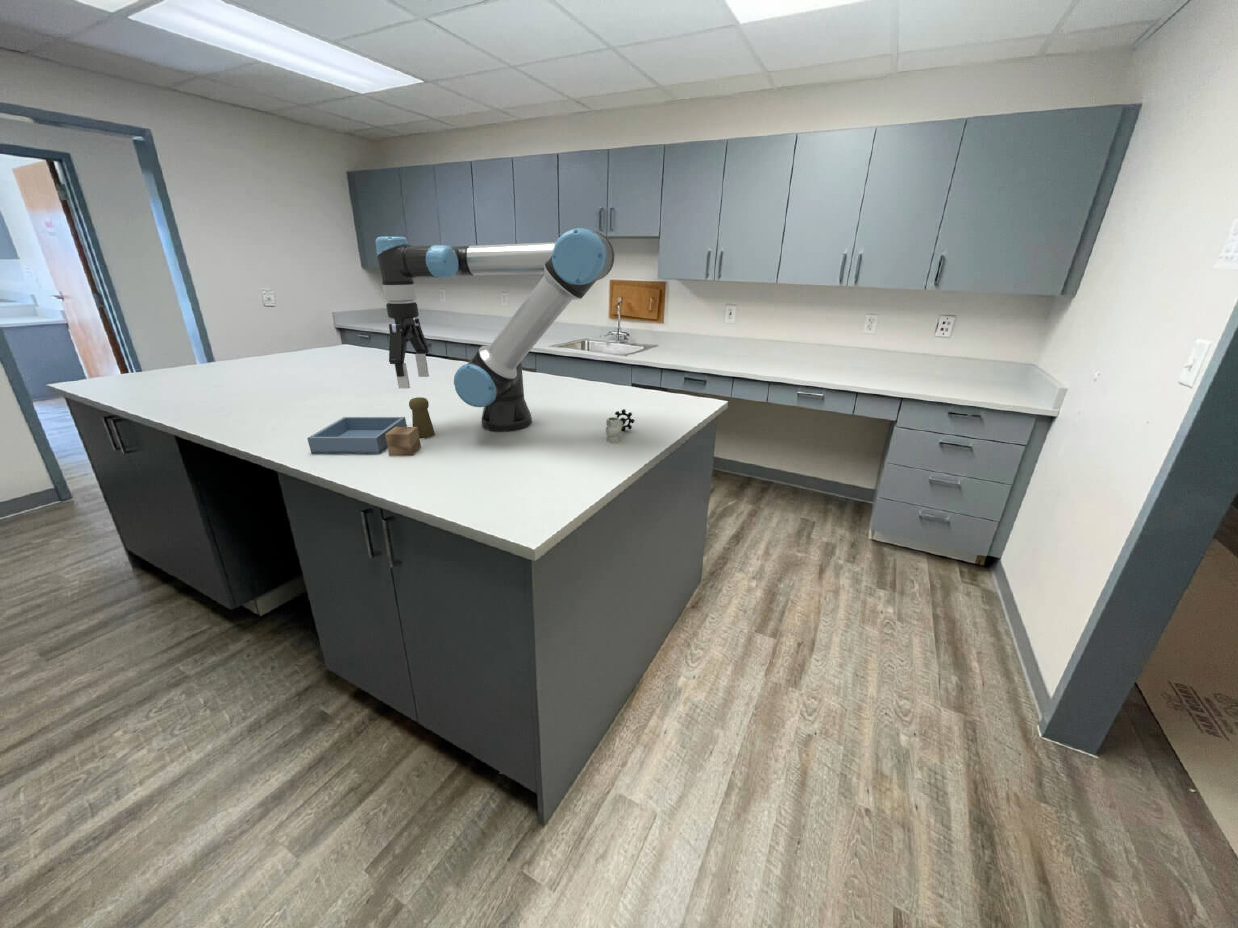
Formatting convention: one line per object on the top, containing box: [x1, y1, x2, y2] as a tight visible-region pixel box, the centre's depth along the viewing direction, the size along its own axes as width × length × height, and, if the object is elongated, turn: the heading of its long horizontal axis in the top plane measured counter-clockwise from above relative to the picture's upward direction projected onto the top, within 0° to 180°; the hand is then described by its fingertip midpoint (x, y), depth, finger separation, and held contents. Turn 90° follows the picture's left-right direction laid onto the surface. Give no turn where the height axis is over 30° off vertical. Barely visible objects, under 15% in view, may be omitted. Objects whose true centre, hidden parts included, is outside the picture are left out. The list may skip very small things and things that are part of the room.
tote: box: [306, 416, 408, 455], centre depth 135 cm, size 18×18×4 cm
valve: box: [605, 408, 636, 444], centre depth 138 cm, size 7×7×12 cm
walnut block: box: [385, 426, 422, 457], centre depth 128 cm, size 6×6×6 cm
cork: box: [408, 396, 436, 440], centre depth 139 cm, size 6×6×11 cm
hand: (414, 382), depth 135 cm, fingers open, 13 cm apart
